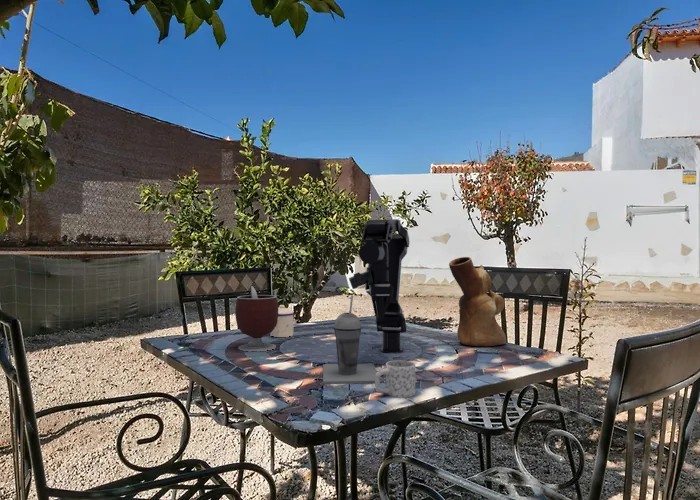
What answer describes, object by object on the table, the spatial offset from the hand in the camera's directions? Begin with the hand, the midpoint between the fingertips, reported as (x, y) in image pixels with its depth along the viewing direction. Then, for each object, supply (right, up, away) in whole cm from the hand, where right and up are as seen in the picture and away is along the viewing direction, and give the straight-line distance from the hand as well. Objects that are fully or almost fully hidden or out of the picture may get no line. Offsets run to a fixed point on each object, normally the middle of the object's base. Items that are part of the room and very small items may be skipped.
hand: (378, 317), depth 140 cm
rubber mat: (-8, -13, -13) cm, 20 cm away
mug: (+2, -13, -31) cm, 34 cm away
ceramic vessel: (+35, -13, +26) cm, 45 cm away
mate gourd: (-39, -13, +21) cm, 46 cm away
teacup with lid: (-34, -13, +42) cm, 56 cm away
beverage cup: (-9, -13, -15) cm, 21 cm away
